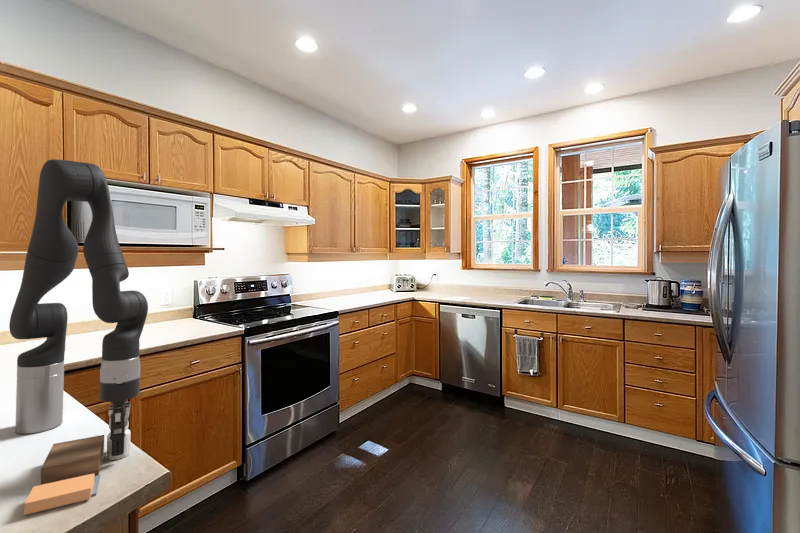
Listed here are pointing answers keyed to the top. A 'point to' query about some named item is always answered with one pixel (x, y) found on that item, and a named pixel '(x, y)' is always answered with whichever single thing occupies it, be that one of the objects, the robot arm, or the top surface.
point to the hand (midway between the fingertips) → (118, 448)
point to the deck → (73, 459)
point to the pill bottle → (126, 444)
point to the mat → (95, 485)
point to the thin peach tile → (59, 493)
